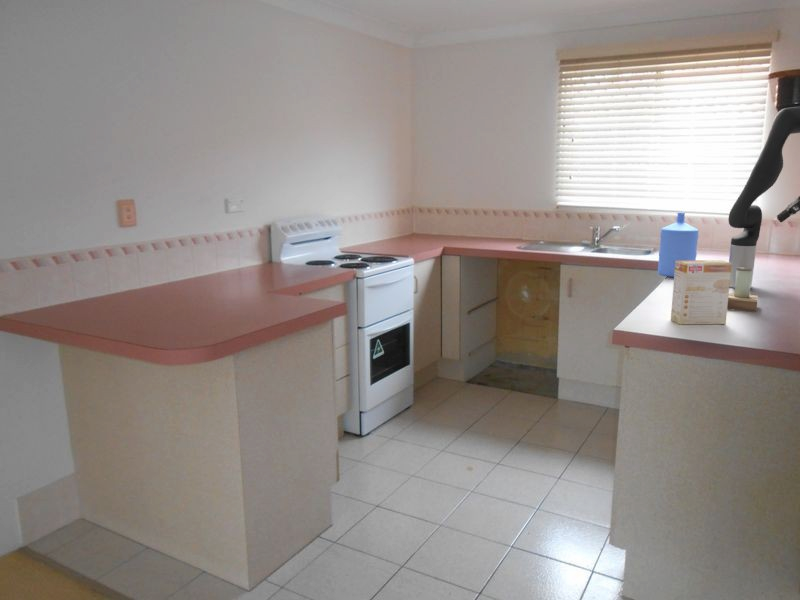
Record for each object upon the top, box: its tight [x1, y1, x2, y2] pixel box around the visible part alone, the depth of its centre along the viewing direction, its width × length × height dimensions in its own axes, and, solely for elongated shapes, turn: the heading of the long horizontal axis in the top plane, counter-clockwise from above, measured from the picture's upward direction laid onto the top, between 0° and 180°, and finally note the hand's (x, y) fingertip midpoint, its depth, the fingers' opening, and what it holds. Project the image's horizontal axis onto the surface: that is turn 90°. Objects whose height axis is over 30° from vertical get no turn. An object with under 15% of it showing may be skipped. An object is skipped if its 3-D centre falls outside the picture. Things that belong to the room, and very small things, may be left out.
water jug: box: [657, 212, 699, 278], centre depth 296 cm, size 16×16×28 cm
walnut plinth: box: [727, 292, 758, 313], centre depth 230 cm, size 10×10×4 cm
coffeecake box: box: [670, 259, 732, 325], centre depth 207 cm, size 15×7×20 cm, turn 92°
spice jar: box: [733, 267, 752, 297], centre depth 229 cm, size 5×5×10 cm
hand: (778, 219), depth 226 cm, fingers open, 8 cm apart
